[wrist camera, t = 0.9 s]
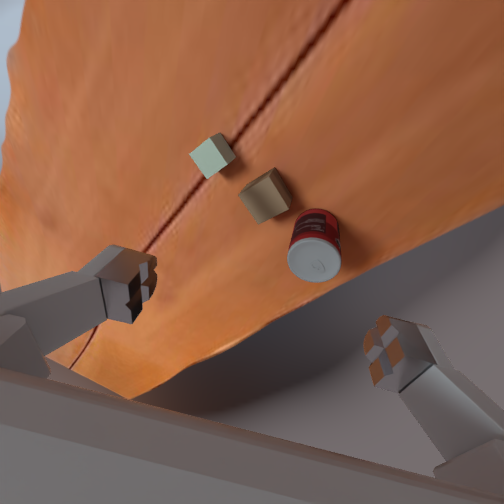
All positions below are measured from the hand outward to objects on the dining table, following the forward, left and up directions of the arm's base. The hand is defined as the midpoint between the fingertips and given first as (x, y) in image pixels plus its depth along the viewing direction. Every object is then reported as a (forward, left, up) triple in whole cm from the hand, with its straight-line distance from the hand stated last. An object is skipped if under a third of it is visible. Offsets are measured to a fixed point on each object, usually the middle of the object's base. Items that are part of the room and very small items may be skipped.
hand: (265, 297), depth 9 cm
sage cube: (+15, -6, -35) cm, 38 cm away
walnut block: (+11, +4, -35) cm, 37 cm away
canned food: (+7, +14, -35) cm, 38 cm away
